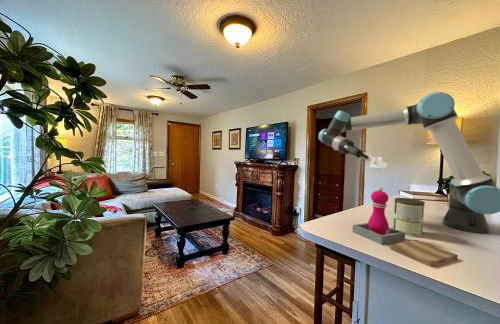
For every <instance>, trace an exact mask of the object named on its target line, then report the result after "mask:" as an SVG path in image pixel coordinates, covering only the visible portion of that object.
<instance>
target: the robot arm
mask: <svg viewBox="0 0 500 324" xmlns="http://www.w3.org/2000/svg"><path fill="white" fill-rule="evenodd" d="M455 104H456V103H455V99H454V97H452V95H450V94H449V93H446V92H443V91H435V92H431V93H428V94H426V95H424V96H423V97H422V98H420V100H419V101H418V102H417V103H416V104H412V105H409V106H404V108H403V109H397V110H396V109H395V110H389V111H382V112H378V113H371V114H365V115H359V116H354V117H351V115H350V114H349V113H347V112H345V111H344V110H337V112H336V113H335V114H334V116H333V118H332V120H331V121H330V123H329V125H328V126H327V128H323V129H321V130H320V131H319V132H318V137H317V138H318V140H319V141H320V142H321V143H323V144H324V145H326V146H328V147H331V148H332V149H333V151H338V152H340V153H341V154H344V155H349V154H351V155H353V156H355V157H356V158H361V159H363V160H364V161H366V162H368V163H371V164H372V165H376V166H377V167H379V168H381V169H383V170H387V169H388V167H389V164H388V163H386V162H384V161H381V160H379V159H378V157H376V156H375V157H374V156H373V155H370V154H368V153H367V152H365V151H363V150H361V149H360V148H358V147H357V146H355V143H354V141H352V140H350V139H348V138H346V137H344V136H343V135H340V134H341V133H346V132H349V131H358V130H364V129H371V128H379V127H386V126H387V127H388V126H396V125H401V124H402V125H403V124H404V125H406V126H412V125H422V126H423V128H424V129H425V130H427V131H430V132H431V134H432V137H433V138H434V140H435V142H436V144H437V147H438V148H439V150H440V152H441V154H442V156H443V158H444V159H445V161H446V164H447V166H448V168H449V169H450V171H451V173H452V175H453V177H454V178H452V179H451V180H450V184H449V199H448V208H447V209H448V210H447V211H446V213H445V215H444V217H443V219H442V224H443V225H444V226H446V227H449V228H453V229H455V230H459V231H463V232H469V233H478V234H486V233H487V234H488V233H490V226H489V223H488V221H487V218H486V215H494V214H498V213H500V188H499V187H498V186H497V185H496V183H495V182H494V179H493V178H492V176H490V175H487V174H484V172H483V171H482V169H481V167H480V165H479V163H478V160H477V159H476V158H475V156H474V155H475V154H473V152H472V150H471V148H470V146H469V145H468V144H469V143H467V141H466V139H465V137H464V135H463V133H462V131H461V130H460V128H459V126H458V124H457V122H456V120H457V119H458V117H459V116H458V114H457V112H456V110H455Z"/></svg>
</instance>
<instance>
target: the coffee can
mask: <svg viewBox="0 0 500 324" xmlns="http://www.w3.org/2000/svg"><path fill="white" fill-rule="evenodd" d="M425 204H426V202H425V201H424V200H420V199H415V198H410V197H409V198H407V197H395V198H394V212H393V227H392V228H393V229H396V230H399V231H402V232H405V236H407V237H414V238H421V237H423V236H424V235H423V232H424V231H423V230H424V217H425V215H424V214H425Z"/></svg>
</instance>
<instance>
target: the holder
mask: <svg viewBox="0 0 500 324" xmlns="http://www.w3.org/2000/svg"><path fill="white" fill-rule="evenodd" d="M369 230H370V228H369V226H368V222H364V223H357V224H356V223H355V224H352V230H351V231H352V233H355V234H357V235H359V236H361V237H364V238H366V239H368V240H370V241H373V242H375V243H377V244H379V245H385V244H386V245H388V244H394V243H397V242H398V243H399V242H405V240H406V235H405V232H402V231H399V230H396V229H393V227H390V226H389V229H388V230H387V231H386V233H387V234H386V235H380V234H377V233H374V232H372V231H369Z"/></svg>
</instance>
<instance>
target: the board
mask: <svg viewBox="0 0 500 324" xmlns="http://www.w3.org/2000/svg"><path fill="white" fill-rule="evenodd" d="M389 245H390V246H389V247H390V248H389V249H390V250H392V251H394V252H396V253H398V254H401V255H403V256H405V257H407V258H409V259H412V260H414V261H416V262H419V263H422V264H423V265H425V266H428V267H430V268H432V267H436V266H438V265H442V264H445V263H450V262H452V261H453V262H454V261H456V260H458V257H459V255H458V254H456V253H453V252H450V251H448V250H445V249H443V248H439V247H437V246H434V245H431V244H428V243H426V242H423V241H421V240H417V239H414V240H408V241H401V242H398V243H397V242H396V243H391V244H389Z"/></svg>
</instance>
